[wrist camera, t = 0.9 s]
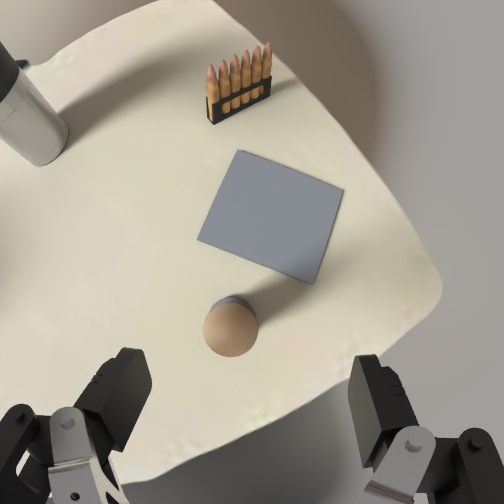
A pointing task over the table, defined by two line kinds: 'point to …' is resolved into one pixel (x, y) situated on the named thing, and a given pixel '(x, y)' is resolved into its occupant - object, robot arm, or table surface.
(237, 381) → the table surface
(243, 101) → the ammunition clip
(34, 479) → the robot arm
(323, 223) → the slate mat
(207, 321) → the tan ribbed cylinder
